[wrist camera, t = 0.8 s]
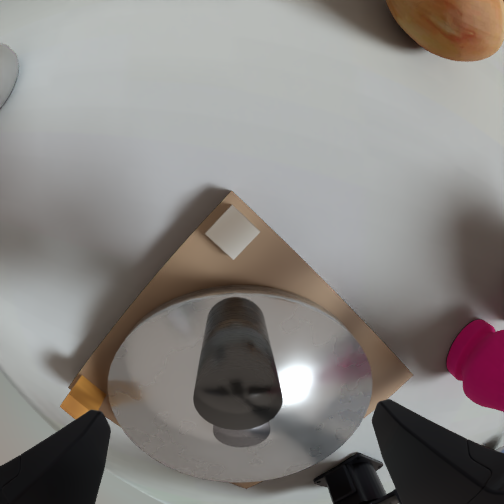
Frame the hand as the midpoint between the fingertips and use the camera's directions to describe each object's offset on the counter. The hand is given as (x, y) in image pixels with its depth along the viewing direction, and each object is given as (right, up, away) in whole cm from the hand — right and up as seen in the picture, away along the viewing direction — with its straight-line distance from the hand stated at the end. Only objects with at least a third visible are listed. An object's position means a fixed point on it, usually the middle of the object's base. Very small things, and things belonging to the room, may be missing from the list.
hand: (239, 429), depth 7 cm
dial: (0, -5, +10) cm, 12 cm away
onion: (+14, +24, +7) cm, 28 cm away
